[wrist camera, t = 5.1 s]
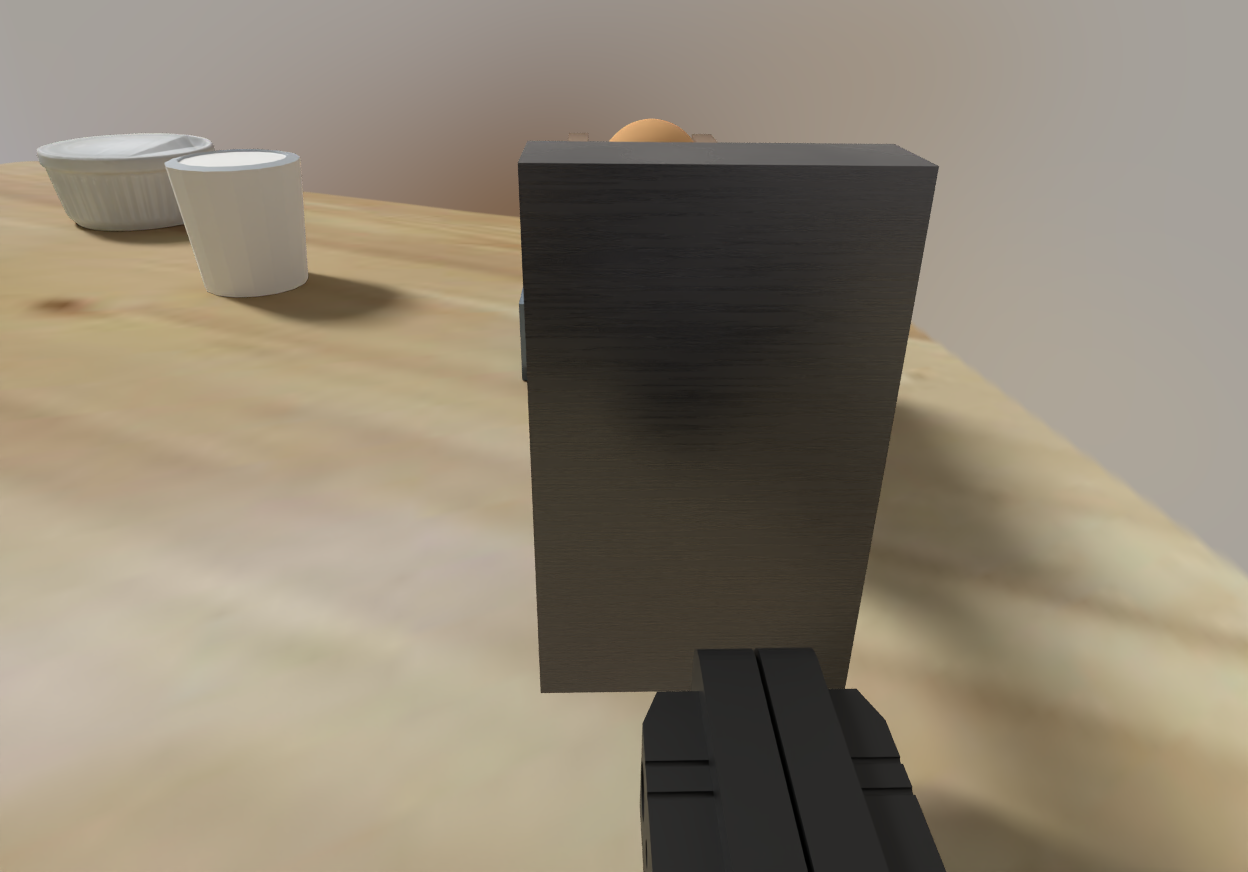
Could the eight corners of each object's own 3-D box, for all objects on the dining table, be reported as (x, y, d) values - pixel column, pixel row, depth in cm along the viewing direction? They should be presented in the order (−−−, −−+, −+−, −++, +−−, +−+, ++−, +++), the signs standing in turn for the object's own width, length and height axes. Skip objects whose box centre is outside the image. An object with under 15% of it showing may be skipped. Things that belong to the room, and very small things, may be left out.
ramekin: (239, 224, 62) (224, 149, 59) (61, 244, 56) (37, 162, 54) (213, 196, 70) (199, 129, 67) (55, 211, 65) (34, 138, 62)
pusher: (845, 688, 17) (939, 166, 12) (540, 692, 16) (517, 162, 12) (735, 386, 30) (760, 77, 25) (563, 387, 29) (557, 75, 25)
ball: (673, 244, 27) (678, 129, 26) (580, 230, 29) (579, 121, 27) (715, 221, 30) (722, 117, 28) (628, 210, 31) (630, 110, 30)
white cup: (336, 266, 52) (318, 148, 49) (291, 302, 46) (268, 170, 43) (227, 263, 52) (202, 146, 49) (169, 299, 46) (136, 167, 43)
